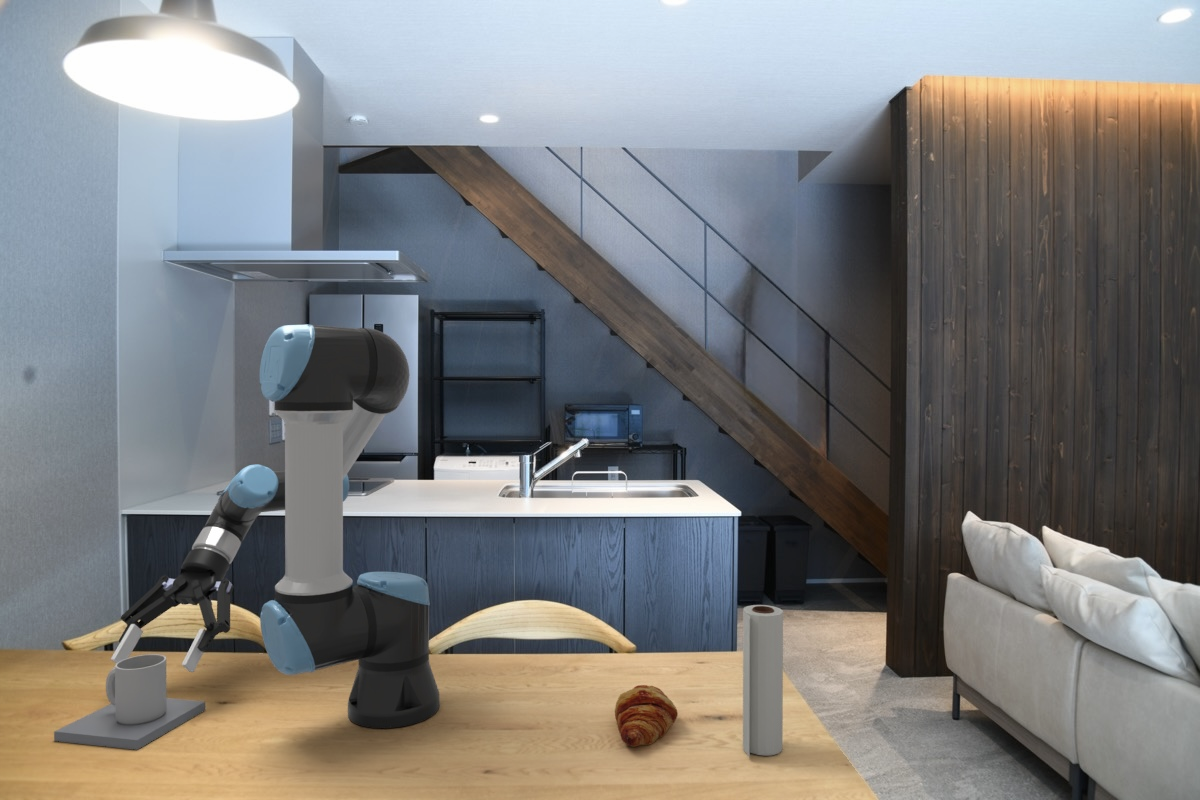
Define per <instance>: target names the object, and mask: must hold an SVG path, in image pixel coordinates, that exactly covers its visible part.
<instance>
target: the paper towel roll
mask: <svg viewBox="0 0 1200 800" xmlns="http://www.w3.org/2000/svg"><path fill="white" fill-rule="evenodd" d="M742 614H743V615H742V619H743V621H742V623H743V624H742V632H743V633H742V634H743V636H742V641H743V642H742V675H743V676H742V749H743V751H744V752H745V754H746V755H747V756H748V760H750V759H751V758H750V757H751V755H750V754H753V755H757V756H774V755H778V754H780V753H781V752H782V751H783V737H784V736H783V734H784V733H783V725H784V722H783V717H784V715H783V711H784V710H783V709H784V708H783V701H784V700H783V697H784V696H783V695H784V694H783V691H784V690H783V689H784V686H783V684H784V683H783V682H784V680H783V679H784V677H783V676H784V669H783V668H784V662H783V661H784V660H783V659H784V610H783V609H781V607H777V606H773V605H766V604H753V605H747V606H744V607H743V610H742Z"/></svg>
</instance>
